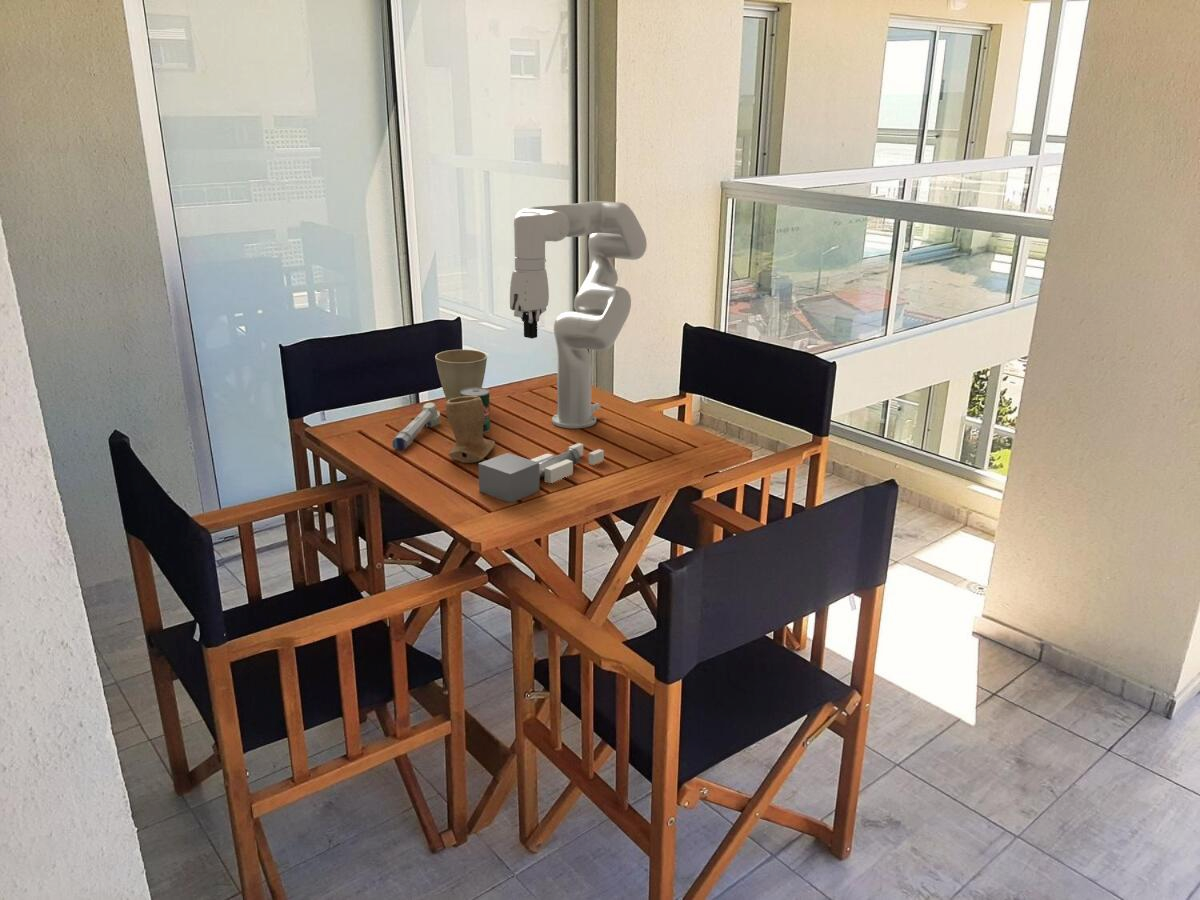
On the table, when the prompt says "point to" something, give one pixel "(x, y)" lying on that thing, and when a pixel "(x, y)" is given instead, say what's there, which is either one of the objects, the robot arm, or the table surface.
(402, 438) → the white handheld tool
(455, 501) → the table surface
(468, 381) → the plant pot
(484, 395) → the canned tomato
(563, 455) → the slip tube
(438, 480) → the table surface
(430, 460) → the table surface
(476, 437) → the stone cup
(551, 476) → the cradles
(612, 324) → the robot arm
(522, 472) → the socket block
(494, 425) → the table surface
